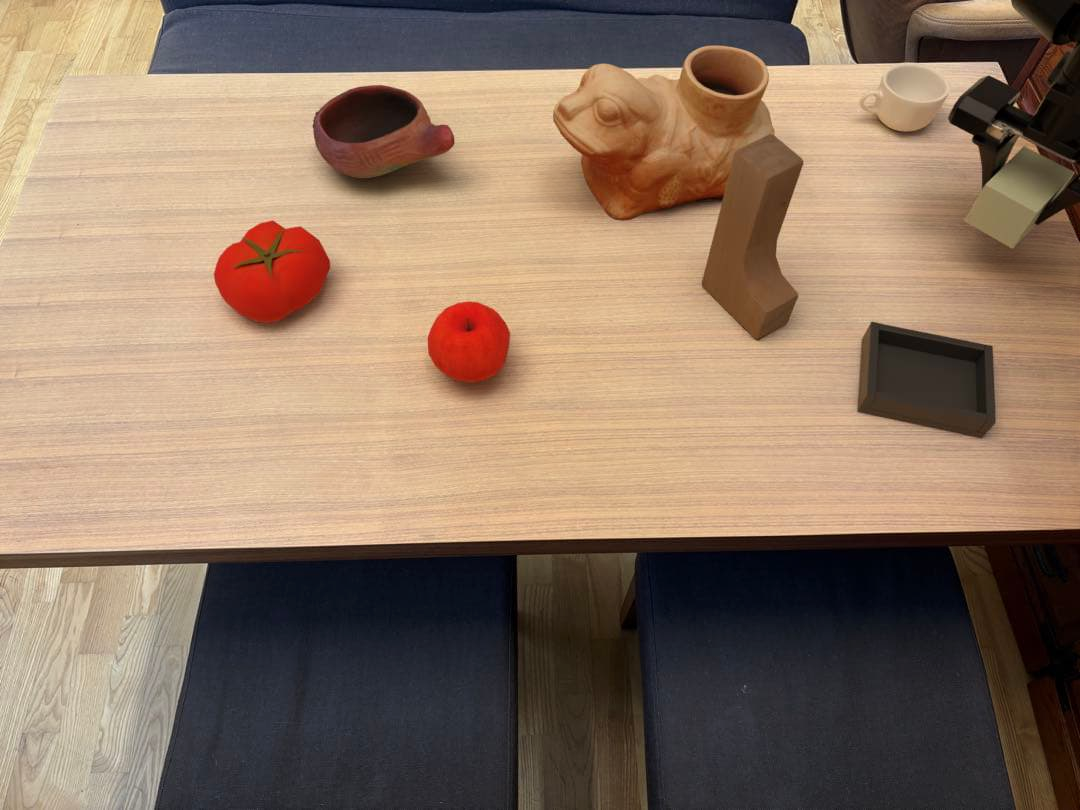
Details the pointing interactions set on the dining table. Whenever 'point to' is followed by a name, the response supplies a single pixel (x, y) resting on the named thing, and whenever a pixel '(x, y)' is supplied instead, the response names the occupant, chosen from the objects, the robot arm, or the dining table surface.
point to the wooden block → (754, 237)
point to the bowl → (377, 131)
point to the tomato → (271, 271)
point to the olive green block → (1017, 196)
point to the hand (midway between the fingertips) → (1011, 207)
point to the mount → (927, 380)
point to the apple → (469, 342)
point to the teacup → (908, 96)
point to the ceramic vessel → (665, 129)
